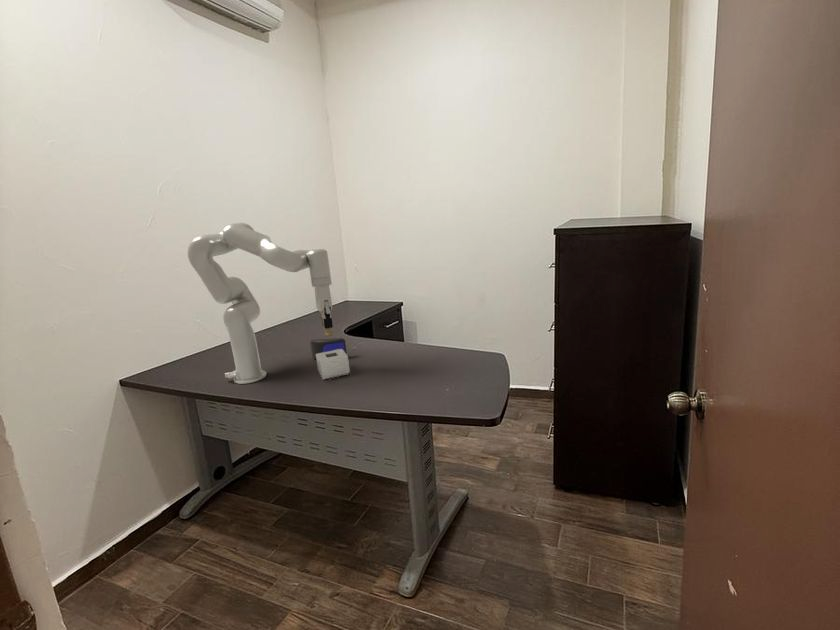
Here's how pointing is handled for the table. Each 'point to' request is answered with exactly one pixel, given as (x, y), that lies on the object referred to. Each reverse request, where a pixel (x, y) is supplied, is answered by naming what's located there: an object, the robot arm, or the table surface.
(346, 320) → the table surface
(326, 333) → the dowel
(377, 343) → the table surface
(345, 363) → the bore block
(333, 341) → the leaning round-cornered charcoal block
